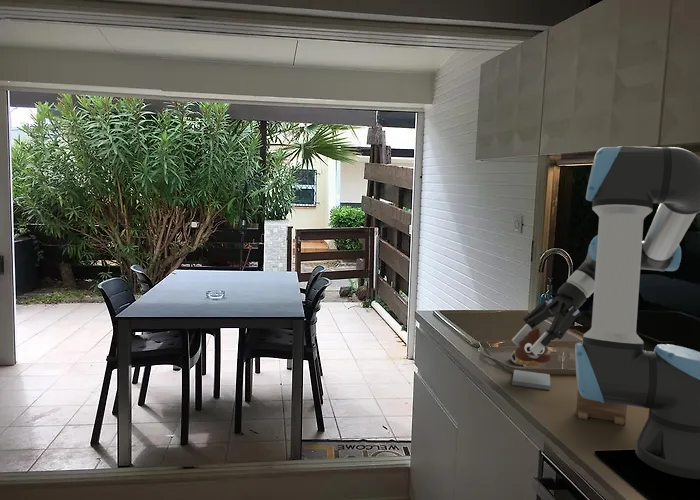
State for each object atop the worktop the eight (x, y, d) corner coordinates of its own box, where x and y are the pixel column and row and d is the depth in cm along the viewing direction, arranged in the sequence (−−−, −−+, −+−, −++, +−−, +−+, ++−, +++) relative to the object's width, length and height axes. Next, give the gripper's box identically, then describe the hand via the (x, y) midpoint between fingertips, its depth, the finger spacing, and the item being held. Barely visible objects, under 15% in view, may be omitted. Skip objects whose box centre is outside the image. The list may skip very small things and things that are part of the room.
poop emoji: (550, 356, 164) (552, 325, 163) (552, 365, 156) (555, 332, 155) (514, 353, 167) (516, 322, 166) (514, 361, 159) (517, 329, 158)
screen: (626, 425, 134) (631, 367, 132) (576, 417, 137) (581, 361, 135) (623, 417, 138) (628, 361, 137) (575, 410, 142) (579, 355, 140)
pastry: (538, 360, 182) (539, 348, 182) (545, 367, 176) (546, 355, 175) (509, 359, 182) (509, 348, 182) (515, 366, 176) (516, 354, 175)
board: (550, 390, 155) (550, 385, 155) (512, 384, 158) (512, 380, 158) (549, 378, 165) (549, 374, 165) (513, 373, 168) (514, 369, 168)
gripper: (609, 307, 154) (554, 368, 151) (560, 291, 173) (510, 345, 171) (594, 288, 151) (538, 350, 149) (546, 275, 171) (496, 329, 169)
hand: (523, 347), depth 160 cm, fingers closed on poop emoji, 8 cm apart
